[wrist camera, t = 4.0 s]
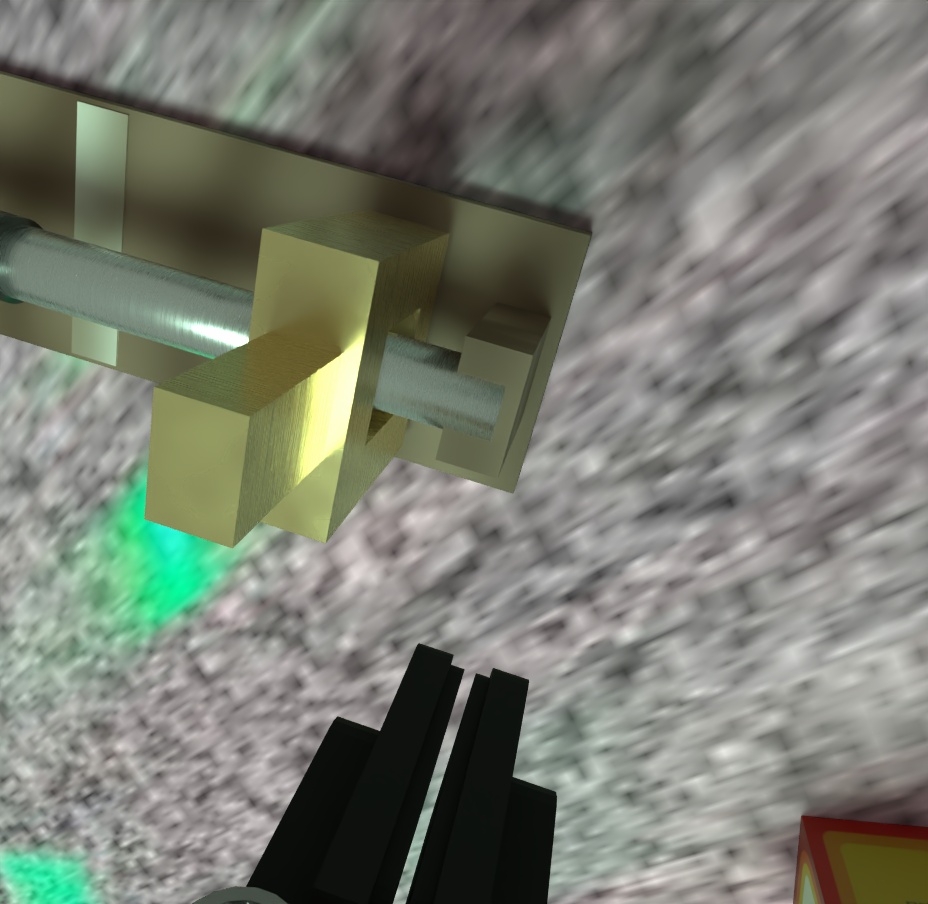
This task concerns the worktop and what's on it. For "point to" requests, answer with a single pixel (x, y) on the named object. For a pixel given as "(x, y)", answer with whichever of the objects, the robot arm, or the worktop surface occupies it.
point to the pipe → (218, 320)
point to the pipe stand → (239, 236)
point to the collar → (296, 384)
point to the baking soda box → (861, 863)
